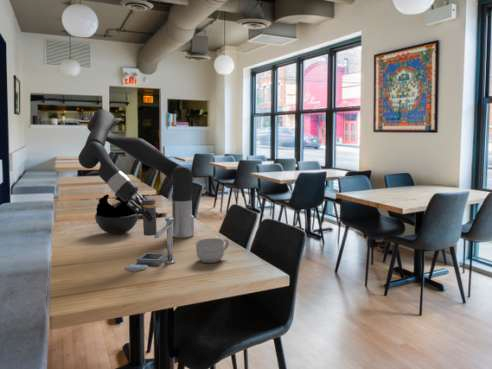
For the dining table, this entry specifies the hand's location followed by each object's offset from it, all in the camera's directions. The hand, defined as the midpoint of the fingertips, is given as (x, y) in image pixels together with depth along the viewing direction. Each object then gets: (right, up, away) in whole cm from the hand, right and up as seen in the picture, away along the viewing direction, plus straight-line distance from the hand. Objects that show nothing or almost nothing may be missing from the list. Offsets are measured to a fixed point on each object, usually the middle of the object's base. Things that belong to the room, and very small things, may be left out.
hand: (154, 218), depth 162 cm
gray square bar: (+5, -4, -8) cm, 11 cm away
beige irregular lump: (-32, -8, +73) cm, 80 cm away
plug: (-2, -6, +1) cm, 6 cm away
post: (+6, -17, +2) cm, 18 cm away
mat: (-5, -18, -5) cm, 19 cm away
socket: (-1, -17, +3) cm, 17 cm away
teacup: (+22, -17, +4) cm, 28 cm away
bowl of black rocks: (-28, -12, +46) cm, 55 cm away
